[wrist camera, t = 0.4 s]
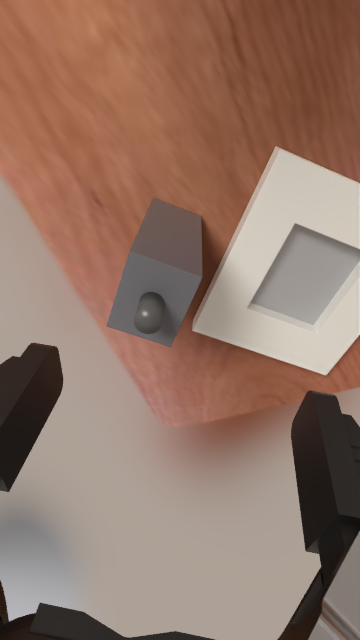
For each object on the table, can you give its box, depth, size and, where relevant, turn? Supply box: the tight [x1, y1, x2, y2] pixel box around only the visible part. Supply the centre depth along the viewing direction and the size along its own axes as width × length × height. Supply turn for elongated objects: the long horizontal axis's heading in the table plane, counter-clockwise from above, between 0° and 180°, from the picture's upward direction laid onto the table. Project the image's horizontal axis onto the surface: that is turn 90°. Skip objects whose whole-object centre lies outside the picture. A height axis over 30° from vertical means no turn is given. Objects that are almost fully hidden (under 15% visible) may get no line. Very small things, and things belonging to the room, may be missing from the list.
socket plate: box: [192, 146, 360, 375], centre depth 29 cm, size 16×14×2 cm
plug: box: [107, 198, 202, 347], centre depth 23 cm, size 5×4×13 cm
